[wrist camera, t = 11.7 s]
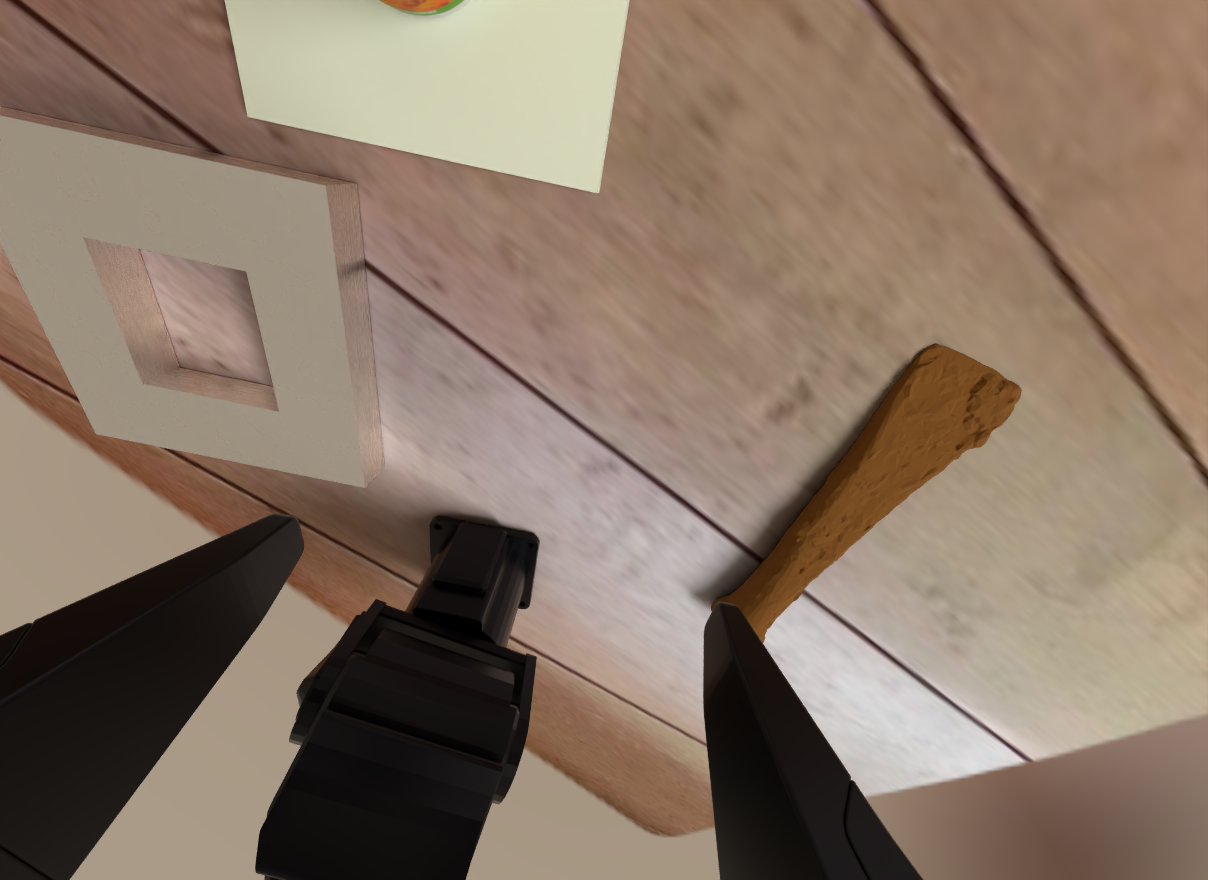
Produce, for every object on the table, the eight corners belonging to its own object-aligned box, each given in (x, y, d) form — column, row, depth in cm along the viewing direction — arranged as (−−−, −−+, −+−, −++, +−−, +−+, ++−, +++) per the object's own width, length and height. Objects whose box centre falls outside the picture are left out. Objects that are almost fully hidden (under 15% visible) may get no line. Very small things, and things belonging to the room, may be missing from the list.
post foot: (384, 466, 25) (365, 488, 23) (133, 415, 25) (96, 433, 23) (356, 183, 18) (325, 185, 16) (-2, 105, 17) (-72, 100, 16)
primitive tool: (926, 336, 19) (978, 368, 16) (1025, 385, 20) (1091, 425, 17) (701, 596, 29) (707, 646, 26) (773, 622, 30) (787, 673, 27)
